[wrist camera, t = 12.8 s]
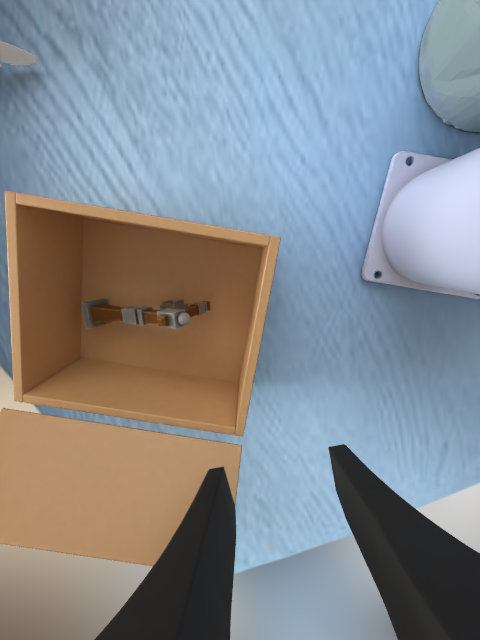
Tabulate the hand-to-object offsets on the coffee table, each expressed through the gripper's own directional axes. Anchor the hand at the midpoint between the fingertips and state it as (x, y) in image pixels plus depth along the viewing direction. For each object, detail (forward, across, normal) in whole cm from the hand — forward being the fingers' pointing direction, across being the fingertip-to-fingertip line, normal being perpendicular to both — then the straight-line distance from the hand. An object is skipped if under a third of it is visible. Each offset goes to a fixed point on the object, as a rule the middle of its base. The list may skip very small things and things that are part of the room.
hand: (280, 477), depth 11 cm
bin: (+10, +6, -6) cm, 14 cm away
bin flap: (+2, +8, 0) cm, 9 cm away
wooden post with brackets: (+10, +7, -7) cm, 14 cm away
